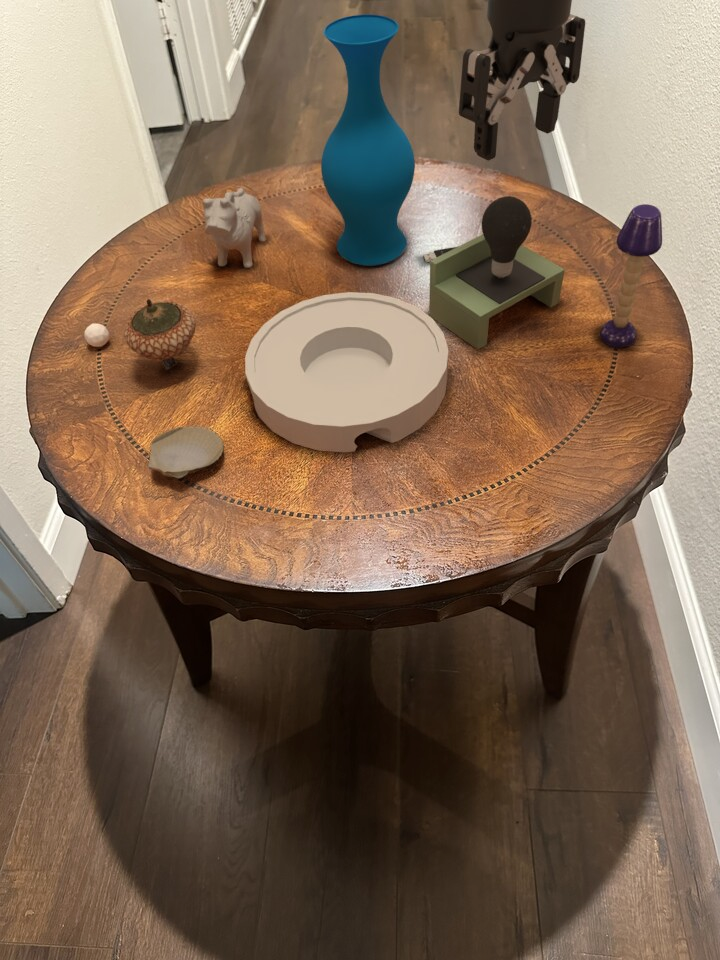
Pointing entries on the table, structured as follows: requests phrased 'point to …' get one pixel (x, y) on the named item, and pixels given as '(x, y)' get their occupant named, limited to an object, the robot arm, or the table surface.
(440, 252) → the usb flash drive
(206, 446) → the seashell
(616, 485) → the table surface
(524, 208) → the light bulb
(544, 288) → the bench
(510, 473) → the table surface
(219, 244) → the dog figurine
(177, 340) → the acorn
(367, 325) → the beige round base
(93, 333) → the polyhedron
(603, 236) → the table surface
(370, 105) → the vase
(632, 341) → the toy lamp
